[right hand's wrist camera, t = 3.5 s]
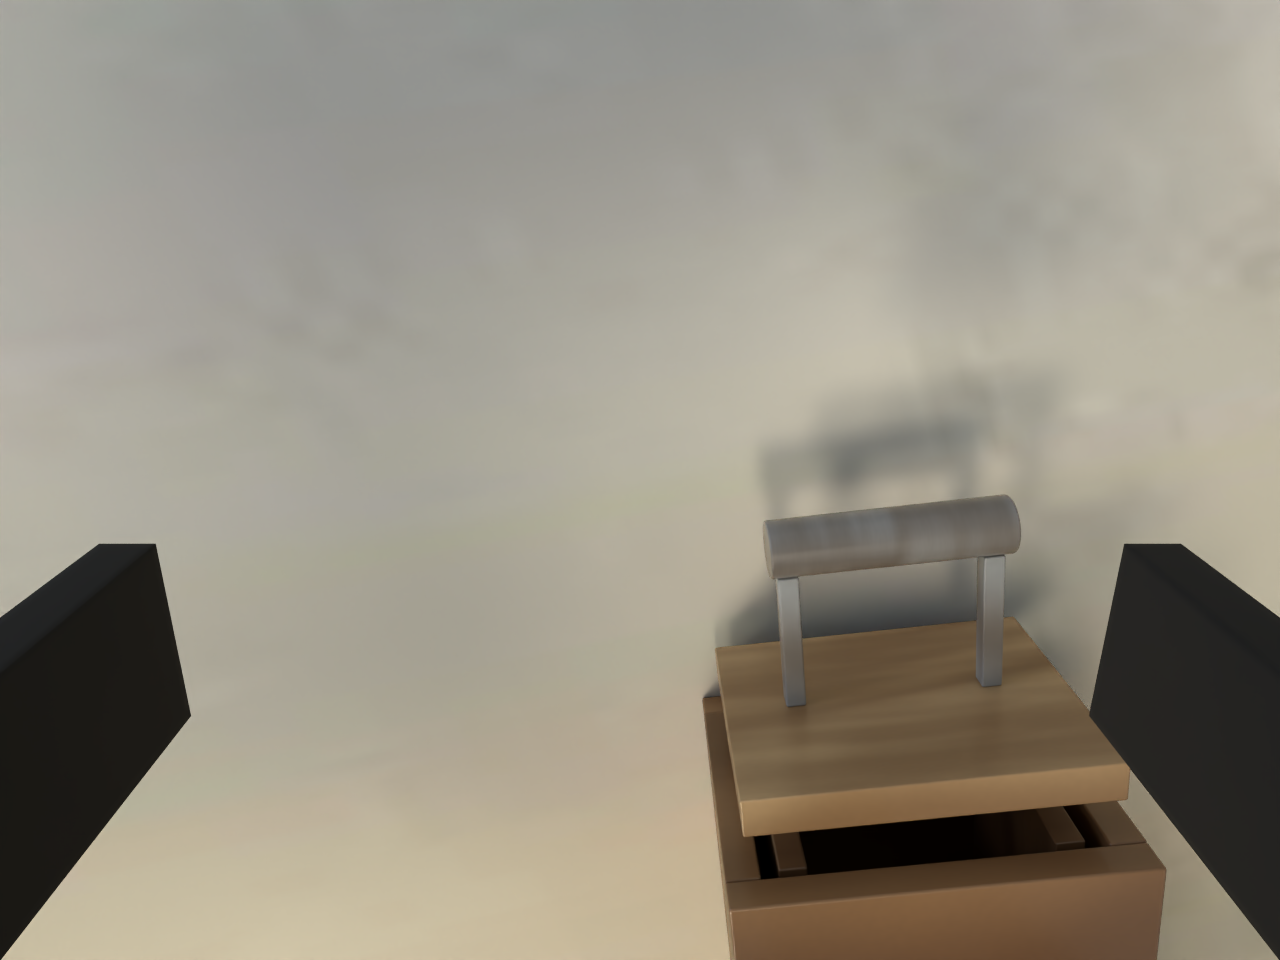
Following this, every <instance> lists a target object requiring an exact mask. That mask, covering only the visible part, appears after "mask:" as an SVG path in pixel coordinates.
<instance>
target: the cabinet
mask: <svg viewBox="0 0 1280 960" xmlns="http://www.w3.org/2000/svg"><path fill="white" fill-rule="evenodd" d="M702 701H703V710H704V719H705V728H706V738H707V747H708V756H709V765H710V774H711V784H712V793H713V802H714V811H715V821H716V830H717V839H718V848H719V857H720V867H721V876H722V885H723V894H724V904H725V913H726V922H727V931H728V941H729V950H730V959H731V960H1157V952H1158V942H1159V933H1160V924H1161V915H1162V906H1163V897H1164V888H1165V878H1166V868H1165V866H1164V865H1163V863H1162V862H1161V861H1160V859H1159V858H1158V857H1157V855H1156V854H1155V853H1154V851H1153V850H1152V848H1151V847H1150V846H1149V844H1147V843H1146V840H1145V838H1144V837H1143V836H1142V834H1141V833H1140V832H1139V830H1138V829H1137V828H1136V826H1135V825H1134V823H1133V822H1132V821H1131V819H1130V818H1129V817H1128V815H1127V814H1126V813H1125V811H1124V810H1123V809H1122V807H1121V806H1120V804H1119V803H1118V802H1117V801H1109V802H1099V803H1088V804H1078V805H1068V806H1063V808H1064V809H1065V811H1066V812H1067V814H1068V815H1069V817H1070V818H1071V820H1072V822H1073V823H1074V825H1075V826H1076V828H1077V829H1078V831H1079V832H1080V834H1081V835H1082V837H1083V839H1084V840H1085V849H1075V850H1065V851H1055V852H1044V853H1034V854H1023V855H1013V856H1003V857H992V858H982V859H971V860H961V861H950V862H940V863H930V864H919V865H909V866H898V867H888V868H878V869H867V870H857V871H846V872H836V873H825V874H815V875H805V876H794V877H784V878H773V879H763V880H762V870H761V859H760V847H759V836H750V837H744V836H743V833H742V827H741V821H740V814H739V808H738V802H737V795H736V789H735V783H734V776H733V770H732V764H731V757H730V751H729V745H728V738H727V732H726V726H725V719H724V713H723V707H722V700H721V696H718V697H708V698H703V700H702Z"/></svg>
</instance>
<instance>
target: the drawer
mask: <svg viewBox="0 0 1280 960" xmlns="http://www.w3.org/2000/svg"><path fill="white" fill-rule="evenodd" d="M763 539H764V549H765V557H766V563H767V568H768V573H769V576H770V578H771V579H775V580H776V594H777V608H778V622H779V636H780V641H775V642H766V643H756V644H747V645H737V646H728V647H718V648H715V654H716V664H717V674H718V681H719V688H720V694H721V700H722V707H723V713H724V719H725V726H726V732H727V738H728V745H729V751H730V757H731V764H732V770H733V776H734V783H735V789H736V795H737V802H738V808H739V814H740V821H741V827H742V833H743V836H744V837H750V836H759V847H760V859H761V870H762V880H763V879H773V878H784V877H794V876H805V875H815V874H825V873H836V872H846V871H857V870H867V869H878V868H888V867H898V866H909V865H919V864H930V863H940V862H950V861H961V860H971V859H982V858H992V857H1003V856H1013V855H1023V854H1034V853H1044V852H1055V851H1065V850H1075V849H1085V840H1084V839H1083V837H1082V835H1081V834H1080V832H1079V831H1078V829H1077V828H1076V826H1075V825H1074V823H1073V822H1072V820H1071V818H1070V817H1069V815H1068V814H1067V812H1066V811H1065V809H1064V808H1063V806H1068V805H1078V804H1088V803H1099V802H1109V801H1119V800H1127V799H1128V789H1129V777H1130V768H1129V766H1128V765H1127V764H1126V763H1125V761H1124V760H1123V759H1122V757H1121V756H1120V755H1119V754H1118V752H1117V751H1116V750H1115V749H1114V747H1113V746H1112V745H1111V743H1110V742H1109V741H1108V740H1107V738H1106V737H1105V736H1104V734H1103V733H1102V732H1101V731H1100V729H1099V728H1098V727H1097V725H1096V724H1095V723H1094V722H1093V720H1092V719H1091V718H1090V716H1089V713H1090V711H1089V710H1088V709H1087V708H1086V706H1085V705H1084V704H1083V703H1082V701H1081V700H1080V699H1079V698H1078V696H1077V695H1076V694H1075V693H1074V691H1073V690H1072V689H1071V688H1070V686H1069V685H1068V684H1067V683H1066V681H1065V680H1064V679H1063V678H1062V676H1061V675H1060V674H1059V673H1058V671H1057V670H1056V669H1055V668H1054V666H1053V665H1052V664H1051V663H1050V661H1049V660H1048V659H1047V658H1046V656H1045V655H1044V654H1043V653H1042V651H1041V650H1040V649H1039V648H1038V646H1037V645H1036V644H1035V643H1034V641H1033V640H1032V639H1031V638H1030V637H1029V635H1028V634H1027V633H1026V632H1025V630H1024V629H1023V628H1022V627H1021V625H1020V624H1019V623H1018V622H1017V620H1016V619H1015V618H1014V617H1004V585H1005V555H1004V554H1013V553H1015V552H1016V551H1017V550H1018V548H1019V545H1020V540H1021V526H1020V519H1019V515H1018V511H1017V508H1016V506H1015V504H1014V502H1013V500H1012V499H1011V498H1010V497H1009V496H1008V495H995V496H986V497H977V498H967V499H958V500H949V501H940V502H931V503H922V504H913V505H903V506H894V507H885V508H876V509H867V510H858V511H849V512H839V513H830V514H821V515H812V516H803V517H794V518H785V519H776V520H766V521H764V524H763ZM975 557H978V559H977V620H976V621H966V622H957V623H947V624H937V625H928V626H918V627H909V628H899V629H890V630H880V631H871V632H861V633H852V634H842V635H833V636H823V637H813V638H804V639H802V625H801V609H800V593H799V579H798V576H808V575H817V574H826V573H836V572H845V571H854V570H864V569H873V568H882V567H892V566H901V565H910V564H920V563H929V562H938V561H948V560H957V559H966V558H975Z"/></svg>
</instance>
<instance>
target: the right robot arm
mask: <svg viewBox="0 0 1280 960" xmlns="http://www.w3.org/2000/svg"><path fill="white" fill-rule="evenodd" d="M190 716H191V713H190V709H189V704H188V699H187V694H186V689H185V684H184V679H183V675H182V670H181V665H180V660H179V655H178V650H177V645H176V640H175V636H174V631H173V626H172V621H171V616H170V611H169V606H168V602H167V597H166V592H165V587H164V582H163V577H162V572H161V568H160V563H159V558H158V553H157V548H156V544H98V545H97V546H96V547H94V548H93V549H92V550H90V551H89V552H88V553H86V554H85V555H84V556H82V557H81V558H79V559H78V560H77V561H75V562H74V563H73V564H71V565H70V566H69V567H67V568H66V569H65V570H63V571H62V572H61V573H59V574H58V575H57V576H55V577H54V578H53V579H51V580H50V581H49V582H47V583H46V584H45V585H43V586H42V587H41V588H39V589H38V590H37V591H35V592H34V593H33V594H31V595H30V596H29V597H27V598H26V599H25V600H23V601H22V602H21V603H19V604H18V605H17V606H15V607H14V608H13V609H11V610H10V611H9V612H7V613H6V614H5V615H3V616H2V617H1V618H0V960H1V959H2V958H3V956H4V955H5V954H6V952H7V951H8V950H9V949H10V947H11V946H12V945H13V944H14V942H15V941H16V940H17V938H18V937H19V936H20V935H21V933H22V932H23V931H24V929H25V928H26V927H27V926H28V924H29V923H30V922H31V920H32V919H33V918H34V917H35V915H36V914H37V913H38V911H39V910H40V909H41V908H42V906H43V905H44V904H45V902H46V901H47V900H48V899H49V897H50V896H51V895H52V893H53V892H54V891H55V890H56V888H57V887H58V886H59V885H60V883H61V882H62V881H63V879H64V878H65V877H66V876H67V874H68V873H69V872H70V870H71V869H72V868H73V867H74V865H75V864H76V863H77V861H78V860H79V859H80V858H81V856H82V855H83V854H84V852H85V851H86V850H87V849H88V847H89V846H90V845H91V843H92V842H93V841H94V840H95V838H96V837H97V836H98V834H99V833H100V832H101V831H102V829H103V828H104V827H105V825H106V824H107V823H108V822H109V820H110V819H111V818H112V817H113V815H114V814H115V813H116V811H117V810H118V809H119V808H120V806H121V805H122V804H123V802H124V801H125V800H126V799H127V797H128V796H129V795H130V793H131V792H132V791H133V790H134V788H135V787H136V786H137V784H138V783H139V782H140V781H141V779H142V778H143V777H144V775H145V774H146V773H147V772H148V770H149V769H150V768H151V766H152V765H153V764H154V763H155V761H156V760H157V759H158V757H159V756H160V755H161V754H162V752H163V751H164V750H165V749H166V747H167V746H168V745H169V743H170V742H171V741H172V740H173V738H174V737H175V736H176V734H177V733H178V732H179V731H180V729H181V728H182V727H183V725H184V724H185V723H186V722H187V720H188V719H189V718H190ZM1089 716H1090V718H1091V719H1092V720H1093V722H1094V723H1095V724H1096V725H1097V727H1098V728H1099V729H1100V731H1101V732H1102V733H1103V734H1104V736H1105V737H1106V738H1107V740H1108V741H1109V742H1110V743H1111V745H1112V746H1113V747H1114V749H1115V750H1116V751H1117V752H1118V754H1119V755H1120V756H1121V757H1122V759H1123V760H1124V761H1125V763H1126V764H1127V765H1128V766H1129V768H1130V769H1131V770H1132V772H1133V773H1134V774H1135V775H1136V777H1137V778H1138V779H1139V781H1140V782H1141V783H1142V784H1143V786H1144V787H1145V788H1146V790H1147V791H1148V792H1149V793H1150V795H1151V796H1152V797H1153V799H1154V800H1155V801H1156V802H1157V804H1158V805H1159V806H1160V808H1161V809H1162V810H1163V811H1164V813H1165V814H1166V815H1167V817H1168V818H1169V819H1170V820H1171V822H1172V823H1173V824H1174V825H1175V827H1176V828H1177V829H1178V831H1179V832H1180V833H1181V834H1182V836H1183V837H1184V838H1185V840H1186V841H1187V842H1188V843H1189V845H1190V846H1191V847H1192V849H1193V850H1194V851H1195V852H1196V854H1197V855H1198V856H1199V858H1200V859H1201V860H1202V861H1203V863H1204V864H1205V865H1206V867H1207V868H1208V869H1209V870H1210V872H1211V873H1212V874H1213V876H1214V877H1215V878H1216V879H1217V881H1218V882H1219V883H1220V885H1221V886H1222V887H1223V888H1224V890H1225V891H1226V892H1227V893H1228V895H1229V896H1230V897H1231V899H1232V900H1233V901H1234V902H1235V904H1236V905H1237V906H1238V908H1239V909H1240V910H1241V911H1242V913H1243V914H1244V915H1245V917H1246V918H1247V919H1248V920H1249V922H1250V923H1251V924H1252V926H1253V927H1254V928H1255V929H1256V931H1257V932H1258V933H1259V935H1260V936H1261V937H1262V938H1263V940H1264V941H1265V942H1266V944H1267V945H1268V946H1269V947H1270V949H1271V950H1272V951H1273V952H1274V954H1275V955H1276V956H1277V958H1278V959H1279V960H1280V618H1279V617H1278V616H1277V615H1275V614H1274V613H1273V612H1271V611H1270V610H1269V609H1267V608H1266V607H1265V606H1263V605H1262V604H1261V603H1259V602H1258V601H1257V600H1255V599H1254V598H1253V597H1251V596H1250V595H1249V594H1247V593H1246V592H1245V591H1243V590H1242V589H1241V588H1239V587H1238V586H1237V585H1235V584H1234V583H1233V582H1231V581H1230V580H1229V579H1227V578H1226V577H1225V576H1223V575H1222V574H1221V573H1219V572H1218V571H1217V570H1215V569H1214V568H1213V567H1211V566H1210V565H1209V564H1207V563H1206V562H1205V561H1203V560H1202V559H1201V558H1199V557H1198V556H1196V555H1195V554H1194V553H1192V552H1191V551H1190V550H1188V549H1187V548H1186V547H1184V546H1183V545H1182V544H1124V548H1123V553H1122V558H1121V563H1120V568H1119V572H1118V577H1117V582H1116V587H1115V592H1114V597H1113V602H1112V606H1111V611H1110V616H1109V621H1108V626H1107V631H1106V636H1105V640H1104V645H1103V650H1102V655H1101V660H1100V665H1099V670H1098V675H1097V679H1096V684H1095V689H1094V694H1093V699H1092V704H1091V709H1090V713H1089Z"/></svg>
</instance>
